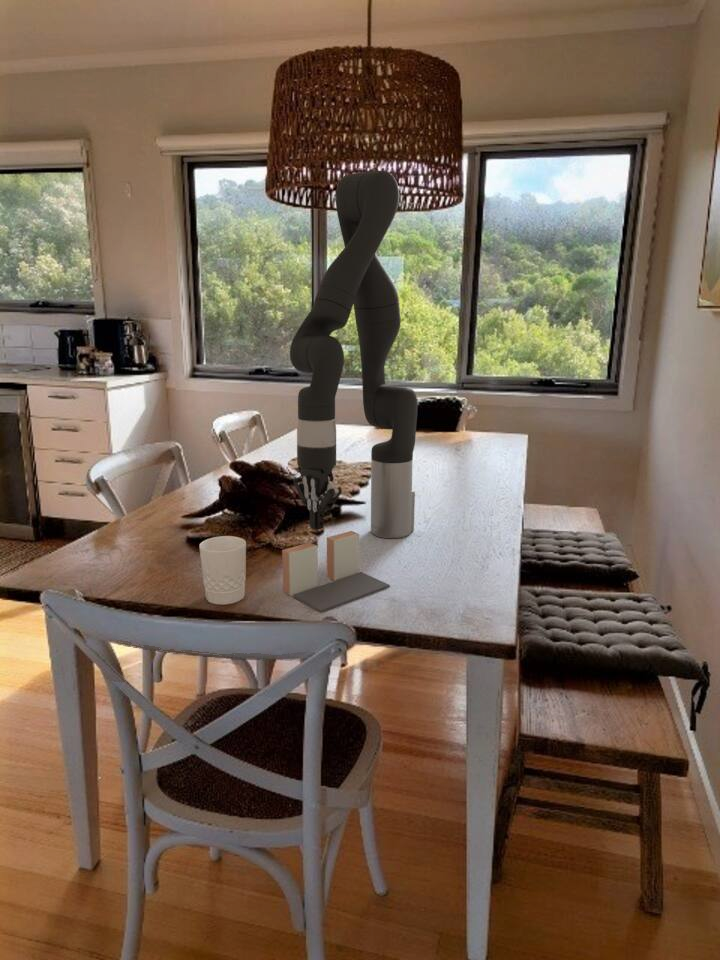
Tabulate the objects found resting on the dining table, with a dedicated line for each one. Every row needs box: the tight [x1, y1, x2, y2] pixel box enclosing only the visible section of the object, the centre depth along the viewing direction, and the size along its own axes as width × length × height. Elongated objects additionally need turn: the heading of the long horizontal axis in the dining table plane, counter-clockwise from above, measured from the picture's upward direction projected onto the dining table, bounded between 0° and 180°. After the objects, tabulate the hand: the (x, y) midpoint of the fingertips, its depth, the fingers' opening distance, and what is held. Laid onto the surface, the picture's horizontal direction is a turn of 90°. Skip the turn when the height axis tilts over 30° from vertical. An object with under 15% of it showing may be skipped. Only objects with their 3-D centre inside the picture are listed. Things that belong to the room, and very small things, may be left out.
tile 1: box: [281, 542, 319, 597], centre depth 115 cm, size 6×2×8 cm, turn 131°
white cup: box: [199, 535, 247, 606], centre depth 111 cm, size 8×8×10 cm
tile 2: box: [326, 530, 360, 582], centre depth 121 cm, size 6×2×8 cm, turn 131°
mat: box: [292, 571, 391, 614], centre depth 115 cm, size 16×8×1 cm, turn 131°
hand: (316, 528), depth 126 cm, fingers closed
